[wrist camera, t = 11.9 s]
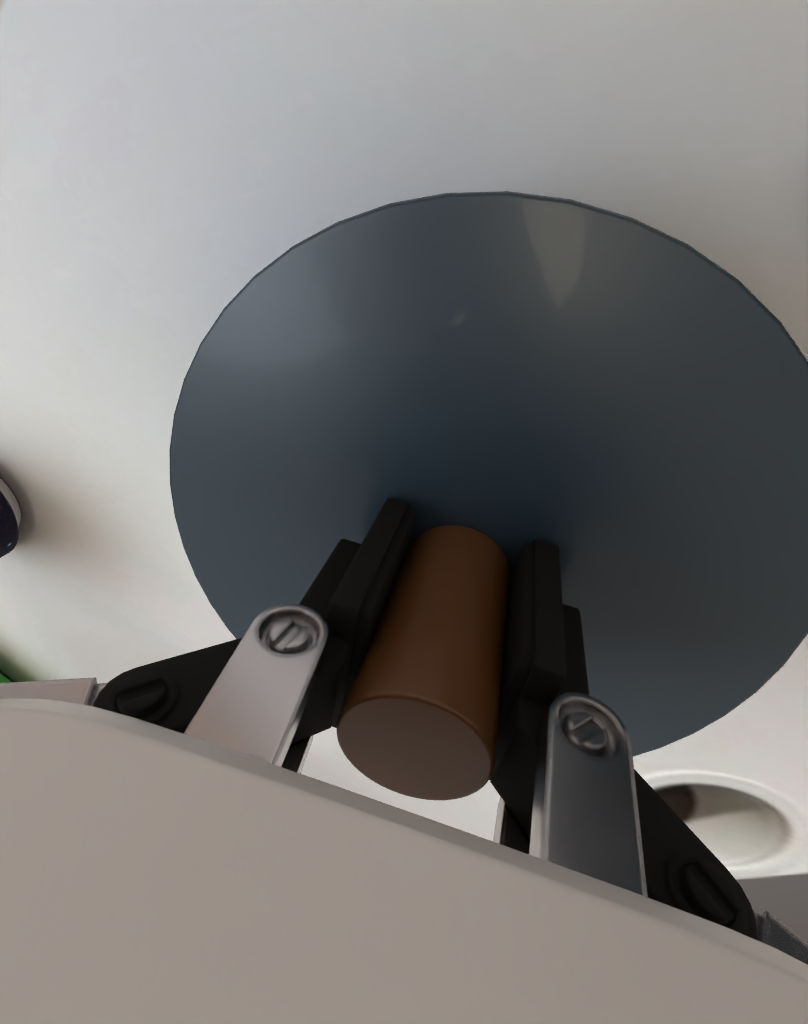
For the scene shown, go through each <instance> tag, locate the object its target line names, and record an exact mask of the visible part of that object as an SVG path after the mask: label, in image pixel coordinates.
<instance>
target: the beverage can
mask: <svg viewBox="0 0 808 1024" xmlns="http://www.w3.org/2000/svg"><path fill="white" fill-rule="evenodd" d="M20 521H21V513H20V508H19V505H18V502H17V500H16V498H15V496H14V495H13V493H12V491H11V490H10V489H9V487H8V486H7V485H6V484H5V483H4V481H3V480H2V479H1V478H0V558H1V557H2V556H4V555H6V554H7V553H9V552H10V551H12V550H13V549H14V547H15V546H16V544H17V540H18V533H19V528H18V526H19V524H20Z"/></svg>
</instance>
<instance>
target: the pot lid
mask: <svg viewBox="0 0 808 1024" xmlns="http://www.w3.org/2000/svg"><path fill="white" fill-rule="evenodd" d="M170 486H171V493H172V499H173V506H174V513H175V518H176V522H177V525H178V529H179V532H180V536H181V539H182V543H183V547H184V549H185V552H186V554H187V557H188V559H189V561H190V564H191V566H192V569H193V571H194V573H195V576H196V578H197V580H198V582H199V583H200V585H201V587H202V589H203V591H204V592H205V594H206V596H207V598H208V600H209V602H210V603H211V605H212V606H213V608H214V609H215V611H216V612H217V614H218V615H219V616H220V618H221V619H222V621H223V622H224V624H225V625H226V627H227V628H228V629H229V631H230V632H231V633H232V634H233V635H234V636H235V638H236V639H240V638H243V637H244V635H245V633H246V632H247V630H248V629H249V627H250V625H251V624H252V622H253V621H254V620H255V618H256V617H257V616H258V615H259V614H260V613H261V612H263V611H265V610H266V609H268V608H270V607H273V606H276V605H280V604H299V603H300V602H301V600H302V599H303V597H304V596H305V594H306V592H307V591H308V589H309V588H310V586H311V585H312V583H313V581H314V580H315V578H316V577H317V575H318V574H319V572H320V570H321V569H322V567H323V566H324V564H325V563H326V561H327V559H328V558H329V556H330V555H331V553H332V552H333V550H334V548H335V547H336V545H337V544H338V542H339V541H340V540H341V539H346V540H350V541H353V542H356V543H360V544H362V542H363V540H364V539H365V537H366V535H367V533H368V531H369V530H370V528H371V526H372V524H373V522H374V521H375V519H376V517H377V515H378V514H379V512H380V510H381V508H382V506H383V505H384V503H385V501H386V499H387V498H388V497H389V498H392V499H396V500H399V501H403V502H406V503H409V510H413V511H416V515H415V520H414V524H413V528H412V533H411V537H410V541H409V545H408V549H407V552H406V554H405V557H404V559H403V562H402V564H401V567H400V569H399V572H398V574H397V576H396V579H395V581H394V584H393V586H392V589H391V591H390V594H389V596H388V599H387V601H386V603H385V606H384V608H383V611H382V613H381V616H380V618H379V621H378V623H377V626H376V628H375V630H374V633H373V635H372V638H371V640H370V643H369V645H368V648H367V650H366V653H365V655H364V657H363V660H362V662H361V665H360V667H359V669H358V671H357V674H356V676H355V678H354V681H353V683H352V686H351V688H350V691H349V693H348V696H347V698H346V701H345V703H344V705H343V708H342V710H341V713H340V715H339V718H338V722H337V737H338V741H339V745H340V747H341V749H342V751H343V753H344V754H345V756H346V757H347V758H348V760H349V761H350V762H351V763H352V764H353V765H354V766H355V767H356V768H357V769H358V770H359V771H360V772H361V773H363V774H364V775H365V776H366V777H368V778H369V779H371V780H372V781H374V782H376V783H378V784H379V785H381V786H383V787H385V788H387V789H389V790H392V791H395V792H397V793H400V794H403V795H407V796H410V797H415V798H420V799H426V800H451V799H457V798H462V797H465V796H468V795H471V794H473V793H475V792H477V791H478V790H479V789H481V788H482V787H483V786H484V785H485V784H486V783H487V782H488V780H489V778H490V777H491V775H492V773H493V770H494V765H495V755H496V743H497V730H498V718H499V705H500V693H501V681H502V668H503V656H504V644H505V631H506V619H507V607H508V594H509V582H510V577H511V574H512V572H513V569H514V567H515V564H516V562H517V559H518V557H519V554H520V551H521V549H522V546H523V544H524V543H528V544H532V543H533V541H534V540H535V539H536V540H540V541H543V542H547V543H550V544H554V545H557V546H559V556H560V572H561V587H562V603H563V604H565V605H569V606H572V607H575V608H578V609H579V610H580V615H581V623H582V632H583V642H584V651H585V660H586V669H587V678H588V688H589V695H590V696H592V697H594V698H596V699H598V700H600V701H601V702H603V703H604V704H605V705H607V706H608V707H609V708H611V709H612V710H613V711H614V712H615V713H616V714H617V716H618V717H619V718H620V719H621V720H622V722H623V724H624V725H625V727H626V729H627V730H628V733H629V737H630V741H631V747H632V756H636V755H639V754H643V753H646V752H649V751H652V750H655V749H658V748H661V747H663V746H666V745H668V744H670V743H673V742H675V741H677V740H680V739H682V738H684V737H687V736H689V735H691V734H693V733H695V732H697V731H699V730H700V729H702V728H704V727H706V726H707V725H709V724H711V723H713V722H714V721H716V720H718V719H720V718H721V717H723V716H725V715H726V714H728V713H729V712H730V711H732V710H733V709H734V708H736V707H737V706H738V705H740V704H741V703H742V702H744V701H745V700H746V699H748V698H749V697H750V696H752V695H753V694H754V693H756V692H757V691H758V690H759V689H760V688H761V687H762V686H763V685H764V684H765V683H766V682H767V681H768V680H769V679H770V678H771V677H772V676H773V675H774V674H775V673H776V672H777V671H778V670H779V669H780V668H781V667H782V666H783V665H784V664H785V663H786V661H787V660H788V659H789V658H790V656H791V655H792V654H793V652H794V651H795V650H796V648H797V647H798V646H799V644H800V643H801V642H802V641H803V639H804V638H805V637H806V635H807V634H808V361H807V359H806V358H805V357H804V355H803V354H802V352H801V351H800V349H799V348H798V346H797V345H796V344H795V342H794V341H793V339H792V338H791V336H790V335H789V333H788V332H787V331H786V329H785V328H784V326H783V325H782V323H781V322H780V321H779V320H778V319H777V318H776V317H775V316H774V315H773V314H772V313H771V312H770V311H769V310H768V309H767V308H766V307H765V306H764V305H763V304H762V303H761V302H760V301H759V300H758V299H757V298H756V297H755V296H754V295H753V294H752V293H751V292H750V291H749V290H748V289H747V288H746V287H745V286H744V285H743V284H742V283H741V282H740V281H739V280H738V279H736V278H735V277H733V276H732V275H731V274H729V273H728V272H726V271H725V270H724V269H722V268H721V267H719V266H718V265H716V264H715V263H714V262H712V261H711V260H709V259H708V258H706V257H705V256H704V255H702V254H701V253H699V252H698V251H696V250H695V249H694V248H692V247H691V246H689V245H688V244H686V243H684V242H682V241H679V240H677V239H675V238H673V237H671V236H669V235H667V234H665V233H663V232H661V231H659V230H656V229H654V228H652V227H650V226H648V225H646V224H644V223H642V222H640V221H638V220H636V219H634V218H631V217H628V216H625V215H621V214H618V213H615V212H611V211H608V210H604V209H601V208H598V207H594V206H591V205H587V204H584V203H581V202H577V201H574V200H570V199H563V198H555V197H547V196H540V195H532V194H524V193H517V192H509V191H505V192H466V193H444V194H439V195H434V196H428V197H423V198H417V199H412V200H406V201H401V202H395V203H390V204H387V205H384V206H381V207H379V208H376V209H373V210H370V211H367V212H364V213H361V214H359V215H356V216H353V217H350V218H347V219H344V220H342V221H339V222H337V223H335V224H333V225H331V226H329V227H327V228H326V229H324V230H322V231H320V232H318V233H316V234H315V235H313V236H311V237H309V238H307V239H305V240H303V241H302V242H300V243H298V244H296V245H294V246H293V247H291V248H290V249H289V250H287V251H286V252H285V253H283V254H282V255H281V256H280V257H278V258H277V259H276V260H274V261H273V262H272V263H270V264H269V265H268V266H267V267H265V268H264V269H263V270H261V271H260V272H259V273H258V274H256V275H255V276H254V277H253V278H252V279H251V280H250V281H249V282H248V283H247V284H246V286H245V287H244V288H243V289H242V290H241V291H240V292H239V293H238V294H237V295H236V296H235V297H234V298H233V299H232V301H231V302H230V303H229V304H228V305H227V306H226V307H225V308H224V309H223V311H222V312H221V314H220V315H219V317H218V318H217V320H216V321H215V323H214V324H213V326H212V327H211V329H210V330H209V332H208V333H207V335H206V336H205V338H204V339H203V341H202V342H201V344H200V346H199V348H198V351H197V353H196V355H195V357H194V359H193V361H192V364H191V366H190V368H189V370H188V372H187V375H186V377H185V379H184V382H183V386H182V389H181V393H180V396H179V400H178V403H177V407H176V410H175V414H174V420H173V428H172V436H171V444H170Z"/></svg>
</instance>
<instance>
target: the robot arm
mask: <svg viewBox="0 0 808 1024" xmlns="http://www.w3.org/2000/svg"><path fill="white" fill-rule="evenodd" d="M415 515H416V511H413V510H409V503H406V502H403V501H399V500H396V499H392V498H389V497H388V498H387V499H386V501H385V503H384V505H383V506H382V508H381V510H380V512H379V514H378V515H377V517H376V519H375V521H374V522H373V524H372V526H371V528H370V530H369V531H368V533H367V535H366V537H365V539H364V540H363V542H362V544H360V543H356V542H353V541H350V540H346V539H341V540H340V541H339V542H338V544H337V545H336V547H335V548H334V550H333V552H332V553H331V555H330V556H329V558H328V559H327V561H326V563H325V564H324V566H323V567H322V569H321V570H320V572H319V574H318V575H317V577H316V578H315V580H314V581H313V583H312V585H311V586H310V588H309V589H308V591H307V592H306V594H305V596H304V597H303V599H302V600H301V602H300V603H299V604H280V605H276V606H273V607H270V608H268V609H266V610H265V611H263V612H261V613H260V614H259V615H258V616H257V617H256V618H255V620H254V621H253V622H252V624H251V625H250V627H249V629H248V630H247V632H246V633H245V635H244V637H243V638H240V639H236V640H233V641H229V642H226V643H222V644H218V645H215V646H211V647H208V648H204V649H201V650H197V651H194V652H190V653H187V654H183V655H179V656H176V657H172V658H169V659H165V660H162V661H158V662H155V663H151V664H147V665H144V666H140V667H137V668H134V669H131V670H129V671H126V672H124V673H122V674H120V675H119V676H117V677H115V678H114V679H112V680H111V681H109V682H108V683H101V684H97V680H96V678H80V679H63V680H45V681H28V682H10V683H0V1024H808V942H807V941H805V940H804V939H803V938H801V937H800V936H799V935H797V934H796V933H795V932H794V931H792V930H791V929H790V928H788V927H787V926H786V925H784V924H783V923H782V922H780V921H779V920H778V919H777V918H775V917H774V916H773V915H771V914H770V913H769V912H767V911H765V912H763V913H762V914H761V915H760V914H758V913H757V912H756V911H754V910H753V909H752V907H751V904H750V902H749V900H748V899H747V897H746V895H745V893H744V891H743V889H742V888H741V886H740V885H739V883H738V882H737V881H736V880H735V878H734V877H733V876H732V875H731V873H730V872H729V871H728V870H727V869H726V867H725V866H724V865H723V864H722V863H721V862H720V861H719V860H718V859H717V858H716V857H715V856H714V855H713V853H712V852H711V851H710V850H709V849H708V848H707V847H706V846H705V845H704V844H703V843H702V842H701V841H700V839H699V838H698V837H697V836H696V835H695V834H694V833H693V832H692V831H691V830H690V829H689V828H688V827H687V825H686V824H685V823H684V822H683V821H682V820H681V819H680V818H679V817H678V816H677V815H676V814H675V813H674V811H673V810H672V809H671V808H670V807H669V806H668V805H667V804H666V803H665V802H664V801H663V800H662V799H661V797H660V796H659V795H658V794H657V793H656V792H655V791H654V790H653V789H652V788H651V787H650V786H649V785H648V783H647V782H646V781H645V780H644V779H643V778H642V777H641V776H640V775H639V774H638V773H637V772H636V771H635V769H634V765H633V756H632V747H631V741H630V737H629V733H628V730H627V729H626V727H625V725H624V724H623V722H622V720H621V719H620V718H619V717H618V716H617V714H616V713H615V712H614V711H613V710H612V709H611V708H609V707H608V706H607V705H605V704H604V703H603V702H601V701H600V700H598V699H596V698H594V697H592V696H590V695H589V688H588V678H587V669H586V660H585V651H584V642H583V632H582V623H581V615H580V610H579V609H578V608H575V607H572V606H569V605H565V604H563V603H562V587H561V572H560V556H559V546H557V545H554V544H550V543H547V542H543V541H540V540H536V539H535V540H534V541H533V543H532V544H528V543H524V544H523V546H522V549H521V551H520V554H519V557H518V559H517V562H516V564H515V567H514V569H513V572H512V574H511V577H510V582H509V594H508V607H507V619H506V631H505V644H504V656H503V668H502V681H501V693H500V705H499V718H498V730H497V743H496V755H495V765H494V770H493V773H492V775H491V777H490V778H489V780H491V783H492V785H493V786H494V788H495V789H496V791H497V792H498V793H499V795H500V796H501V797H500V801H499V804H498V810H497V817H496V824H495V831H494V839H493V842H492V841H490V840H487V839H484V838H481V837H478V836H476V835H473V834H470V833H467V832H464V831H461V830H459V829H456V828H453V827H450V826H447V825H444V824H442V823H439V822H436V821H433V820H430V819H428V818H425V817H422V816H419V815H416V814H413V813H411V812H408V811H405V810H402V809H399V808H396V807H394V806H391V805H388V804H385V803H382V802H379V801H376V800H374V799H371V798H368V797H365V796H362V795H359V794H357V793H354V792H351V791H348V790H345V789H342V788H340V787H337V786H334V785H331V784H328V783H325V782H322V781H320V780H317V779H314V778H311V777H308V776H305V775H302V774H301V771H302V768H303V765H304V762H305V760H306V757H307V754H308V751H309V749H310V746H311V743H312V740H313V735H314V734H317V733H319V732H322V731H324V730H326V729H329V728H331V726H332V727H335V728H337V722H338V718H339V715H340V713H341V710H342V708H343V705H344V703H345V701H346V698H347V696H348V693H349V691H350V688H351V686H352V683H353V681H354V678H355V676H356V674H357V671H358V669H359V667H360V665H361V662H362V660H363V657H364V655H365V653H366V650H367V648H368V645H369V643H370V640H371V638H372V635H373V633H374V630H375V628H376V626H377V623H378V621H379V618H380V616H381V613H382V611H383V608H384V606H385V603H386V601H387V599H388V596H389V594H390V591H391V589H392V586H393V584H394V581H395V579H396V576H397V574H398V572H399V569H400V567H401V564H402V562H403V559H404V557H405V554H406V552H407V549H408V545H409V541H410V537H411V533H412V528H413V524H414V520H415Z"/></svg>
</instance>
